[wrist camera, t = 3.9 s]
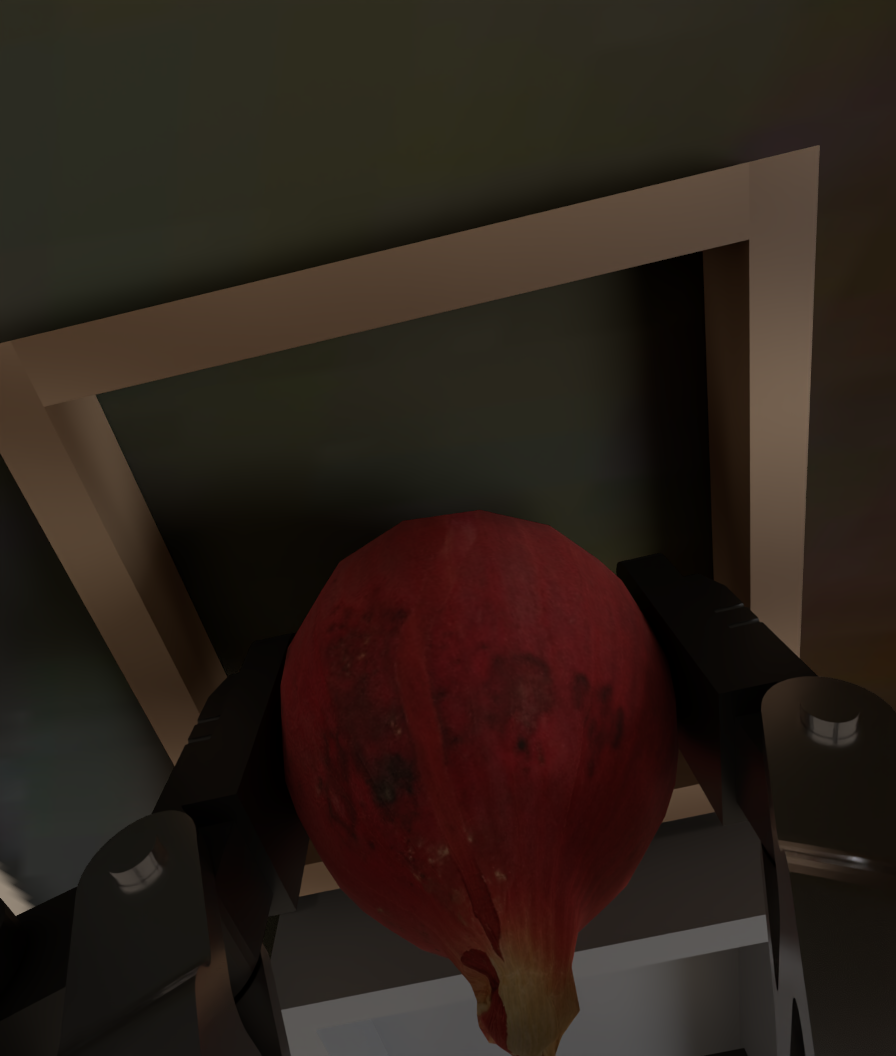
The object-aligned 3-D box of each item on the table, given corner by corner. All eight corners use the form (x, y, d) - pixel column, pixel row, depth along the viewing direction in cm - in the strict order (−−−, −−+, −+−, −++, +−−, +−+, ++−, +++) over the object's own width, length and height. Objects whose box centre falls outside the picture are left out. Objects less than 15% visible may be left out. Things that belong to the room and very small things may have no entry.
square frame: (10, 345, 10) (-55, 356, 9) (760, 164, 9) (819, 145, 8) (266, 849, 15) (252, 906, 14) (758, 747, 15) (794, 795, 13)
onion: (261, 559, 12) (14, 1019, 4) (495, 394, 11) (676, 642, 3) (427, 732, 14) (445, 1241, 7) (637, 608, 13) (939, 1049, 5)
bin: (285, 885, 16) (259, 1014, 13) (758, 789, 15) (834, 900, 13) (402, 1114, 21) (400, 1241, 18) (757, 1047, 20) (811, 1167, 18)
